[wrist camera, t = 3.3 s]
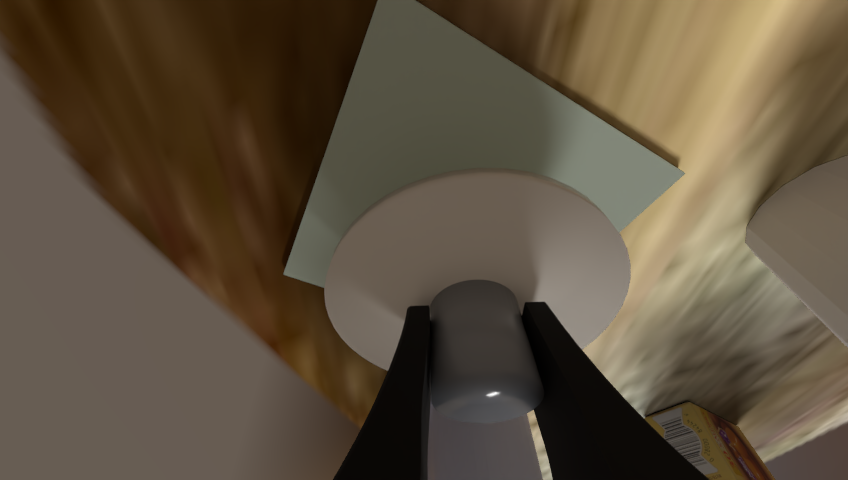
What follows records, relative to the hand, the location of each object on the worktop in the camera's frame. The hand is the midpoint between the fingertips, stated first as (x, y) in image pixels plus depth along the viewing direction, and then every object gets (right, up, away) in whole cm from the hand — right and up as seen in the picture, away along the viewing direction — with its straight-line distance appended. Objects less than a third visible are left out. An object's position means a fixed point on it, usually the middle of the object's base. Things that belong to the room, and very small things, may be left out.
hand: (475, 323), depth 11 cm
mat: (0, +3, +4) cm, 6 cm away
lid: (0, +1, +1) cm, 1 cm away
